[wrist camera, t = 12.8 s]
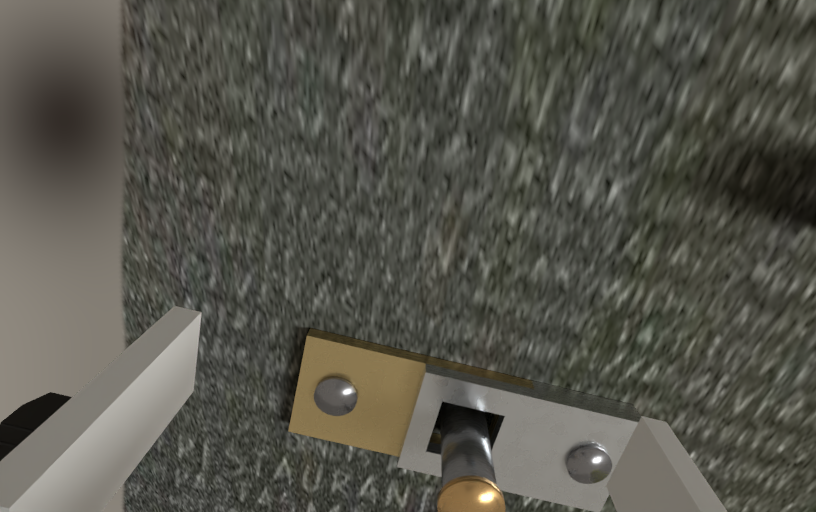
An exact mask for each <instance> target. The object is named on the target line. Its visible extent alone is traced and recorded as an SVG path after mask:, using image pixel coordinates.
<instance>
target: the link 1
mask: <svg viewBox="0 0 816 512" xmlns="http://www.w3.org/2000/svg"><path fill="white" fill-rule="evenodd" d="M426 364H429V365H434V366H438V367H442V368H446V369H451V370H455V371H459V372H463V373H468V374H472V375H476V376H480V377H484V378H489V379H493V380H497V381H501V382H506V383H510V384H514V385H518V386H523V387H527V388H531V389H534V386H533V383H532V380H528V379H523V378H519V377H515V376H511V375H506V374H502V373H498V372H494V371H490V370H485V369H481V368H477V367H473V366H468V365H464V364H460V363H456V362H452V361H447V360H443V359H439V358H435V357H431V356H426V355H422V354H418V353H414V352H409V351H405V350H401V349H397V348H393V347H388V346H384V345H380V344H376V343H371V342H367V341H363V340H359V339H355V338H350V337H346V336H342V335H338V334H333V333H329V332H325V331H321V330H317V329H312V328H310V330H309V332H308V334H307V337H306V343H305V348H304V353H303V358H302V363H301V368H300V374H299V379H298V384H297V389H296V394H295V400H294V405H293V410H292V415H291V420H290V425H289V432H293V433H298V434H302V435H307V436H311V437H315V438H320V439H324V440H329V441H333V442H337V443H342V444H346V445H351V446H355V447H359V448H364V449H368V450H372V451H377V452H381V453H386V454H390V455H394V456H398V454H399V451H400V448H401V444H402V441H403V438H404V434H405V431H406V428H407V424H408V421H409V418H410V414H411V411H412V408H413V404H414V401H415V398H416V394H417V391H418V388H419V385H420V381H421V378H422V375H423V371H424V368H425V365H426ZM498 418H499V415H498V414H494V417H493V419H492V422H491V425H490V427H489V430H488V433H489V440H490V439H491V436H492V433H493V431H494V428H495V426H496V423H497V420H498ZM429 442H432V443H437V444H441V435H440V434H436V433H432V434H431V437H430V440H429Z"/></svg>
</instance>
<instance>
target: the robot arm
mask: <svg viewBox="0 0 816 512" xmlns="http://www.w3.org/2000/svg"><path fill="white" fill-rule="evenodd" d="M200 321H201V312H198V311H194V310H190V309H185V308H181V307H177V306H174V307H173V308H172V309H171V310H170V311H168V312H167V313H166V314H165V315H164V316H163V317H162V318H161V319H159V320H158V321H157V322H156V323H155V324H154V325H153V326H152V327H151V328H149V329H148V330H147V331H146V332H145V333H144V334H143V335H142V336H140V337H139V338H138V339H137V340H136V341H135V342H134V343H133V344H131V345H130V346H129V347H128V348H127V349H126V350H125V351H124V352H122V353H121V354H120V355H119V356H118V357H117V358H116V359H115V360H113V361H112V362H111V363H110V364H109V365H108V366H107V367H106V368H104V369H103V370H102V371H101V372H100V373H99V374H98V375H97V376H95V377H94V378H93V379H92V380H91V381H90V382H89V383H88V384H87V385H85V386H84V387H83V388H82V389H81V390H80V391H79V392H77V393H76V394H75V395H74V396H73V397H69V396H64V395H60V394H56V393H51V392H50V393H48V394H46V395H43V396H41V397H39V398H37V399H35V400H32V401H30V402H28V403H26V404H24V405H22V406H21V407H19V408H18V409H17V410H16V411H14V412H13V413H12V414H11V415H9V416H8V417H7V418H6V419H4V420H3V421H2V422H1V424H0V512H102V511H103V510H104V508H105V507H106V506H107V504H108V503H109V501H110V500H111V499H112V498H113V496H114V495H115V494H116V492H117V491H118V490H119V488H120V487H121V486H122V484H123V483H124V482H125V481H126V479H127V478H128V477H129V475H130V474H131V473H132V471H133V470H134V469H135V467H136V466H137V465H138V463H139V462H140V461H141V459H142V458H143V457H144V455H145V454H146V453H147V452H148V450H149V449H150V448H151V446H152V445H153V444H154V442H155V441H156V440H157V438H158V437H159V436H160V434H161V433H162V432H163V430H164V429H165V428H166V427H167V425H168V424H169V423H170V421H171V420H172V419H173V417H174V416H175V415H176V413H177V412H178V411H179V409H180V408H181V407H182V405H183V404H184V403H185V401H186V400H187V399H188V398H189V396H190V395H191V394H192V392H193V390H194V380H195V371H196V361H197V351H198V341H199V331H200ZM606 487H607V489H608V491H609V494H610V496H611V498H612V501H613V503H614V505H615V508H616V510H617V512H727V511H726V509H725V508H724V506H723V505H722V503H721V502H720V500H719V499H718V497H717V496H716V494H715V493H714V491H713V490H712V489H711V487H710V486H709V484H708V483H707V481H706V480H705V478H704V477H703V475H702V474H701V472H700V471H699V469H698V468H697V466H696V465H695V464H694V462H693V461H692V459H691V458H690V456H689V455H688V453H687V452H686V450H685V449H684V447H683V446H682V444H681V443H680V442H679V440H678V439H677V437H676V436H675V434H674V433H673V431H672V430H671V428H670V427H669V425H668V424H667V422H664V421H660V420H655V419H651V418H647V417H643V416H641V418H640V420H639V422H638V424H637V426H636V428H635V430H634V432H633V434H632V436H631V438H630V440H629V442H628V444H627V446H626V448H625V450H624V452H623V454H622V455H621V457H620V459H619V461H618V463H617V465H616V467H615V469H614V471H613V473H612V475H611V477H610V479H609V481H608V483H607V485H606Z"/></svg>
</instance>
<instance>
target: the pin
mask: <svg viewBox="0 0 816 512" xmlns="http://www.w3.org/2000/svg"><path fill="white" fill-rule="evenodd" d="M440 434H441V473H442V489H441V490H440V492H439V495H438V512H505V503H504V497H503V494H502V491H501V490H500V488H499V487H498V486H497V483H496V477H495V471H494V465H493V458H492V452H491V446H490V440H489V433H488V427H487V421H486V415H485V411H481V410H477V409H473V408H468V407H464V406H460V405H455V404H451V403H447V402H445V403H444V405H443V406H442V408H441V411H440Z"/></svg>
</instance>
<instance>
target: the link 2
mask: <svg viewBox="0 0 816 512" xmlns="http://www.w3.org/2000/svg"><path fill="white" fill-rule="evenodd" d="M532 383H533V386H534V389H531V388H527V387H523V386H518V385H514V384H510V383H506V382H501V381H497V380H493V379H489V378H484V377H480V376H476V375H472V374H468V373H463V372H459V371H455V370H451V369H446V368H442V367H438V366H434V365H429V364H426V365H425V368H424V371H423V375H422V378H421V381H420V385H419V388H418V391H417V394H416V398H415V401H414V404H413V408H412V411H411V414H410V418H409V421H408V424H407V428H406V431H405V434H404V438H403V441H402V444H401V448H400V451H399V454H398V461H397V467H400V468H404V469H409V470H413V471H417V472H422V473H426V474H431V475H435V476H440V477H442V473H441V444H437V443H432V442H429V440H430V437H431V434H432V431H433V428H434V425H435V422H436V419H437V416H438V413H439V410H440V407H441V404H442V401H443V402H447V403H451V404H455V405H460V406H464V407H468V408H473V409H477V410H481V411H485V412H490V413H494V414H498V415H499V418H498V420H497V423H496V426H495V428H494V431H493V433H492V436H491V439H490V446H491V452H492V458H493V465H494V471H495V477H496V483H497V486H498V487H499V488H500V490H501V491H506V492H510V493H514V494H519V495H523V496H528V497H532V498H537V499H541V500H545V501H550V502H554V503H559V504H563V505H567V506H572V507H576V508H581V509H585V510H589V511H594V512H600V511H601V509H602V507H603V505H604V503H605V501H606V500H607V498H608V496H609V491H608V489H607V487H606V485H607V483H608V481H609V479H610V477H611V475H612V473H613V471H614V469H615V467H616V465H617V463H618V461H619V459H620V457H621V455H622V454H623V452H624V450H625V448H626V446H627V444H628V442H629V440H630V438H631V436H632V434H633V432H634V430H635V428H636V426H637V424H638V422H639V420H640V418H641V416H640V414H639V412H638V411H637V409H636V408H635V406H634V405H633V404H629V403H625V402H620V401H616V400H612V399H608V398H603V397H599V396H595V395H591V394H587V393H582V392H578V391H574V390H570V389H566V388H561V387H557V386H553V385H549V384H544V383H540V382H536V381H532Z"/></svg>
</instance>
